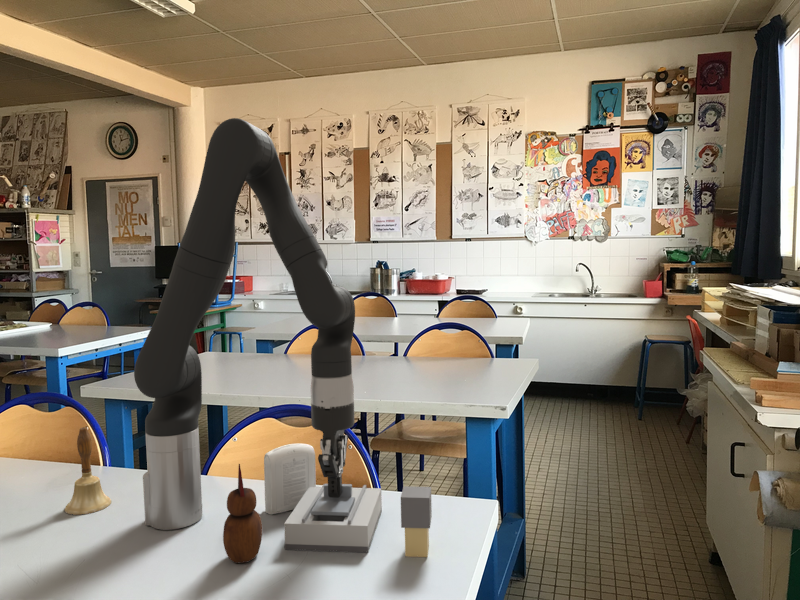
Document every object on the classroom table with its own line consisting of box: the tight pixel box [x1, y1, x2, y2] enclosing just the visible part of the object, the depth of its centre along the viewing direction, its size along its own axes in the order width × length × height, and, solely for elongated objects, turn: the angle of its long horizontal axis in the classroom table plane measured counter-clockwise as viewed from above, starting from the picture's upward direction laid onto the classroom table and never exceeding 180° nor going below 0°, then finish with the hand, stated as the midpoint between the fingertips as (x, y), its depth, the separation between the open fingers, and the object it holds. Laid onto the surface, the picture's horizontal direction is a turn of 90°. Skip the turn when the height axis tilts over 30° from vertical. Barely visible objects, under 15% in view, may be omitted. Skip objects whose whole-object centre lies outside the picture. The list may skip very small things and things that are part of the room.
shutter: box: [311, 483, 355, 516], centre depth 106 cm, size 6×7×3 cm
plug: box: [400, 485, 432, 558], centre depth 98 cm, size 5×5×10 cm
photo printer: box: [263, 442, 317, 515], centre depth 117 cm, size 10×4×12 cm, turn 123°
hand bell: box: [64, 426, 112, 516], centre depth 119 cm, size 8×8×16 cm
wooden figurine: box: [222, 463, 263, 564], centre depth 97 cm, size 7×6×15 cm
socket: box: [283, 483, 383, 554], centre depth 107 cm, size 14×16×5 cm
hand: (335, 495), depth 107 cm, fingers closed
